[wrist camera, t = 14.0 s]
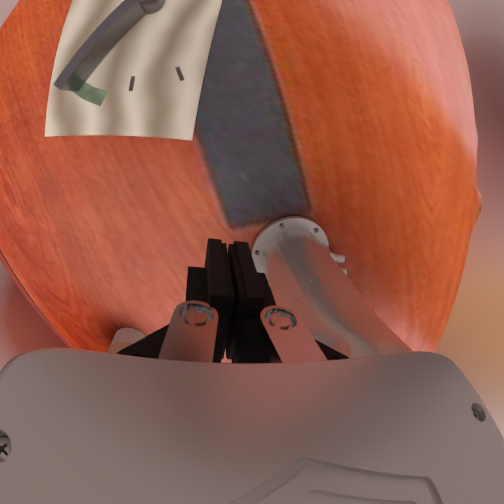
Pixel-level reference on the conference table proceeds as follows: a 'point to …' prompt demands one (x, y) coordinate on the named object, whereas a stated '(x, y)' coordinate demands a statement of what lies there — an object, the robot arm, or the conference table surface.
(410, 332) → the conference table surface
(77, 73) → the pointer lever
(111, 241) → the conference table surface
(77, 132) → the dial plate
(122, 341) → the coffee cup
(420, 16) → the conference table surface
